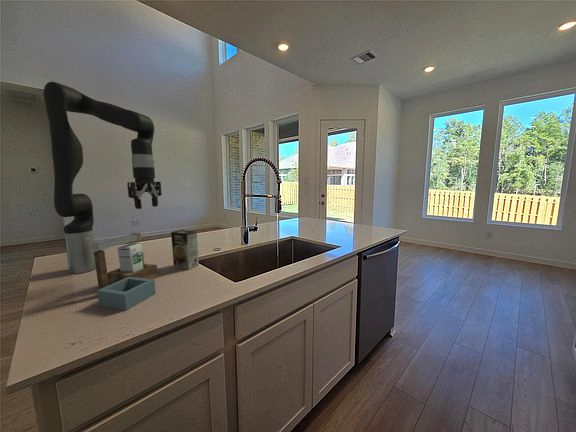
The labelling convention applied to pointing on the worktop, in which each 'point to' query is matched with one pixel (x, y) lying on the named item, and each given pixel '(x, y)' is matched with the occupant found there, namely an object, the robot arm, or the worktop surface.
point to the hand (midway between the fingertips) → (147, 207)
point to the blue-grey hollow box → (126, 293)
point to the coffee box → (185, 249)
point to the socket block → (119, 271)
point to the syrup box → (131, 257)
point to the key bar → (116, 241)
